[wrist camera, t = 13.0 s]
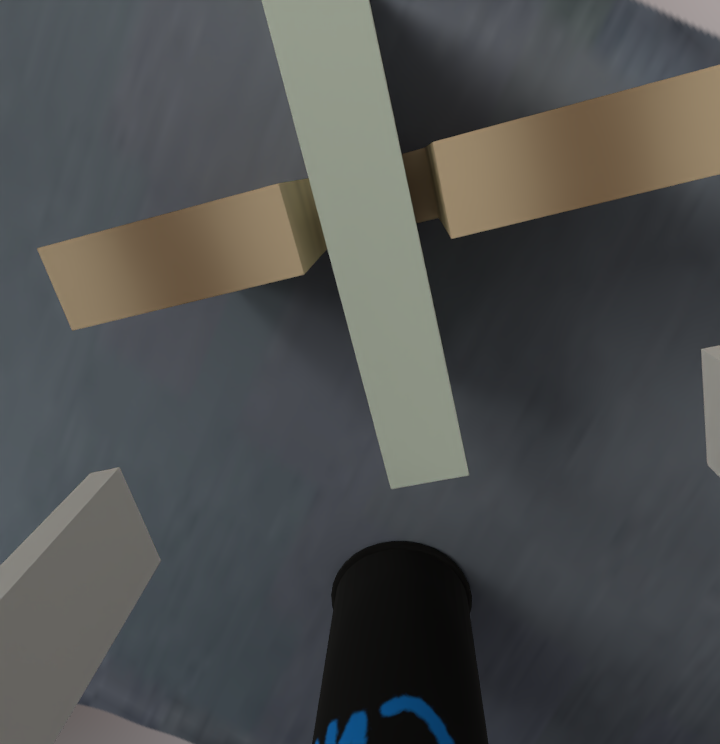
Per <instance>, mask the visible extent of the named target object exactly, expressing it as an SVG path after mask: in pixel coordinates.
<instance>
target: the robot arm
mask: <svg viewBox="0 0 720 744" xmlns="http://www.w3.org/2000/svg"><path fill="white" fill-rule="evenodd" d="M701 355H702V374H703V393H704V413H705V432H706V451H707V465H708V466H709V467H710V468H711V469H712V470H713V471H714V472H715V473H716V474H717V475H718V476H719V477H720V345H718V346H714V347H709V348H704V349H701ZM160 562H161V559H160V557H159V555H158V553H157V550H156V548H155V546H154V544H153V541H152V539H151V537H150V535H149V532H148V530H147V528H146V526H145V523H144V521H143V519H142V517H141V514H140V512H139V510H138V508H137V505H136V503H135V501H134V499H133V496H132V494H131V492H130V490H129V487H128V485H127V483H126V481H125V478H124V476H123V474H122V472H121V469H120V467H118V468H113V469H108V470H103V471H98V472H93V473H90V474H89V475H88V476H87V477H86V478H85V479H84V480H83V481H82V482H81V483H80V484H79V485H78V486H77V487H76V488H75V489H74V490H73V491H72V492H71V494H70V495H69V496H68V497H67V498H66V499H65V500H64V501H63V502H62V503H61V504H60V505H59V506H58V507H57V508H56V509H55V510H54V511H53V512H52V513H51V514H50V515H49V516H48V517H47V518H46V519H45V520H44V521H43V522H42V523H41V524H40V525H39V526H38V527H37V528H36V529H35V531H34V532H33V533H32V534H31V535H30V536H29V537H28V538H27V539H26V540H25V541H24V542H23V543H22V544H21V545H20V546H19V547H18V548H17V549H16V550H15V551H14V552H13V553H12V554H11V555H10V556H9V557H8V558H7V559H6V560H5V561H4V562H3V563H2V564H1V565H0V744H54V742H55V741H56V739H57V737H58V735H59V734H60V732H61V730H62V729H63V727H64V725H65V723H66V722H67V720H68V718H69V717H70V715H71V713H72V712H73V710H74V708H75V706H76V705H77V703H78V701H79V700H80V698H81V696H82V695H83V693H84V691H85V689H86V688H87V686H88V684H89V683H90V681H91V679H92V678H93V676H94V674H95V672H96V671H97V669H98V667H99V666H100V664H101V662H102V660H103V659H104V657H105V655H106V654H107V652H108V650H109V649H110V647H111V645H112V643H113V642H114V640H115V638H116V637H117V635H118V633H119V631H120V630H121V628H122V626H123V625H124V623H125V621H126V620H127V618H128V616H129V614H130V613H131V611H132V609H133V608H134V606H135V604H136V602H137V601H138V599H139V597H140V596H141V594H142V592H143V591H144V589H145V587H146V585H147V584H148V582H149V580H150V579H151V577H152V575H153V573H154V572H155V570H156V568H157V567H158V565H159V563H160Z"/></svg>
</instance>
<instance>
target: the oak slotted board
mask: <svg viewBox="0 0 720 744" xmlns="http://www.w3.org/2000/svg"><path fill="white" fill-rule="evenodd" d="M402 158H403V163H404V167H405V172H406V177H407V182H408V186H409V191H410V196H411V201H412V205H413V210H414V215H415V220H416V223H420V222H424V221H428V220H432V219H436V218H439V219H440V221H441V222H442V224H443V226H444V227H445V229H446V231H447V232H448V234H449V235H450V237H451V239H454V238H458V237H462V236H466V235H470V234H474V233H478V232H482V231H487V230H491V229H495V228H499V227H503V226H507V225H511V224H516V223H520V222H524V221H528V220H532V219H536V218H540V217H545V216H549V215H553V214H557V213H561V212H565V211H569V210H573V209H578V208H582V207H586V206H590V205H594V204H598V203H602V202H607V201H611V200H615V199H619V198H623V197H627V196H631V195H636V194H640V193H644V192H648V191H652V190H656V189H660V188H664V187H669V186H673V185H677V184H681V183H685V182H689V181H693V180H698V179H702V178H706V177H710V176H714V175H718V174H720V65H717V66H713V67H709V68H706V69H702V70H698V71H695V72H691V73H687V74H683V75H680V76H676V77H672V78H669V79H665V80H661V81H657V82H654V83H650V84H646V85H643V86H639V87H635V88H631V89H628V90H624V91H620V92H617V93H613V94H609V95H605V96H602V97H598V98H594V99H590V100H587V101H583V102H579V103H576V104H572V105H568V106H564V107H561V108H557V109H553V110H550V111H546V112H542V113H538V114H535V115H531V116H527V117H524V118H520V119H516V120H512V121H509V122H505V123H501V124H498V125H494V126H490V127H486V128H483V129H479V130H475V131H472V132H468V133H464V134H460V135H457V136H453V137H449V138H446V139H442V140H438V141H434V142H432V143H431V144H429V145H428V146H426V147H425V148H422V149H418V150H415V151H411V152H407V153H403V154H402ZM37 250H38V252H39V254H40V257H41V259H42V261H43V264H44V266H45V268H46V271H47V273H48V275H49V278H50V280H51V282H52V285H53V287H54V289H55V292H56V294H57V296H58V299H59V301H60V303H61V306H62V308H63V310H64V313H65V315H66V317H67V320H68V322H69V324H70V327H71V329H72V331H73V330H77V329H81V328H85V327H90V326H94V325H98V324H102V323H106V322H110V321H114V320H118V319H123V318H127V317H131V316H135V315H139V314H143V313H147V312H152V311H156V310H160V309H164V308H168V307H172V306H176V305H181V304H185V303H189V302H193V301H197V300H201V299H205V298H209V297H214V296H218V295H222V294H226V293H230V292H234V291H238V290H243V289H247V288H251V287H255V286H259V285H263V284H267V283H272V282H276V281H280V280H284V279H288V278H292V277H296V276H300V275H304V274H305V273H306V272H307V271H308V270H309V269H310V268H311V266H312V265H313V264H314V263H315V262H316V261H317V260H318V259H319V257H320V256H321V255H322V254H323V253H324V252H325V251H326V250H327V246H326V242H325V238H324V234H323V230H322V227H321V223H320V219H319V215H318V212H317V208H316V204H315V200H314V196H313V193H312V189H311V185H310V181H309V178H308V179H302V180H296V181H290V182H284V183H278V184H274V185H271V186H267V187H263V188H260V189H256V190H252V191H248V192H245V193H241V194H237V195H234V196H230V197H226V198H222V199H219V200H215V201H211V202H208V203H204V204H200V205H196V206H193V207H189V208H185V209H182V210H178V211H174V212H170V213H167V214H163V215H159V216H156V217H152V218H148V219H144V220H141V221H137V222H133V223H130V224H126V225H122V226H118V227H115V228H111V229H107V230H103V231H100V232H96V233H92V234H89V235H85V236H81V237H77V238H74V239H70V240H66V241H63V242H59V243H55V244H51V245H48V246H44V247H40V248H37Z"/></svg>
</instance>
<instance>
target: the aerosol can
mask: <svg viewBox="0 0 720 744" xmlns="http://www.w3.org/2000/svg"><path fill="white" fill-rule="evenodd" d="M331 597H332V607H333V616H332V622H331V629H330V635H329V641H328V648H327V654H326V660H325V666H324V673H323V679H322V685H321V692H320V698H319V704H318V711H317V717H316V723H315V730H314V736H313V742H312V744H488V738H487V731H486V724H485V717H484V711H483V704H482V697H481V690H480V683H479V676H478V669H477V662H476V655H475V648H474V641H473V634H472V627H471V620H470V611H471V607H472V595H471V591H470V586H469V584H468V582H467V580H466V578H465V576H464V574H463V572H462V571H461V570H460V568H459V567H458V566H457V565H456V564H455V563H454V562H453V561H452V560H451V559H450V558H448V557H447V556H446V555H444V554H443V553H441V552H439V551H437V550H435V549H434V548H431V547H428V546H425V545H422V544H418V543H412V542H406V541H391V542H385V543H379V544H376V545H373V546H370V547H367V548H365V549H363V550H361V551H360V552H358V553H356V554H354V555H353V556H352V557H351V558H350V559H349V560H348V561H346V562H345V563H344V565H343V566H342V568H341V569H340V570H339V572H338V573H337V575H336V578H335V580H334V583H333V587H332V593H331Z"/></svg>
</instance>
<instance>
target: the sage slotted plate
mask: <svg viewBox="0 0 720 744" xmlns="http://www.w3.org/2000/svg"><path fill="white" fill-rule="evenodd" d="M262 4H263V7H264V11H265V15H266V19H267V22H268V26H269V30H270V34H271V38H272V41H273V45H274V49H275V53H276V57H277V60H278V64H279V68H280V72H281V75H282V79H283V83H284V87H285V91H286V94H287V98H288V102H289V106H290V109H291V113H292V117H293V121H294V125H295V128H296V132H297V136H298V140H299V143H300V147H301V151H302V155H303V159H304V162H305V166H306V170H307V174H308V177H309V181H310V185H311V189H312V193H313V196H314V200H315V204H316V208H317V212H318V215H319V219H320V223H321V227H322V230H323V234H324V238H325V242H326V246H327V249H328V253H329V257H330V261H331V264H332V268H333V272H334V276H335V280H336V283H337V287H338V291H339V295H340V298H341V302H342V306H343V310H344V314H345V317H346V321H347V325H348V329H349V332H350V336H351V340H352V344H353V348H354V351H355V355H356V359H357V363H358V367H359V370H360V374H361V378H362V382H363V385H364V389H365V393H366V397H367V401H368V404H369V408H370V412H371V416H372V419H373V423H374V427H375V431H376V435H377V438H378V442H379V446H380V450H381V453H382V457H383V461H384V465H385V469H386V472H387V476H388V480H389V484H390V487H391V489H395V488H400V487H406V486H412V485H417V484H423V483H429V482H434V481H440V480H446V479H451V478H457V477H463V476H468V475H469V472H468V467H467V462H466V458H465V453H464V448H463V443H462V438H461V433H460V429H459V424H458V419H457V414H456V409H455V404H454V399H453V395H452V390H451V385H450V380H449V375H448V370H447V366H446V361H445V356H444V351H443V346H442V342H441V337H440V332H439V327H438V323H437V318H436V313H435V308H434V304H433V299H432V294H431V289H430V285H429V280H428V275H427V270H426V266H425V261H424V256H423V251H422V247H421V242H420V237H419V233H418V229H417V224H416V220H415V215H414V210H413V205H412V201H411V196H410V191H409V186H408V182H407V177H406V172H405V167H404V163H403V158H402V153H401V148H400V144H399V138H398V133H397V128H396V124H395V119H394V114H393V109H392V105H391V100H390V95H389V90H388V86H387V81H386V76H385V71H384V67H383V62H382V57H381V52H380V48H379V43H378V38H377V33H376V29H375V24H374V19H373V15H372V10H371V5H370V0H262Z"/></svg>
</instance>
